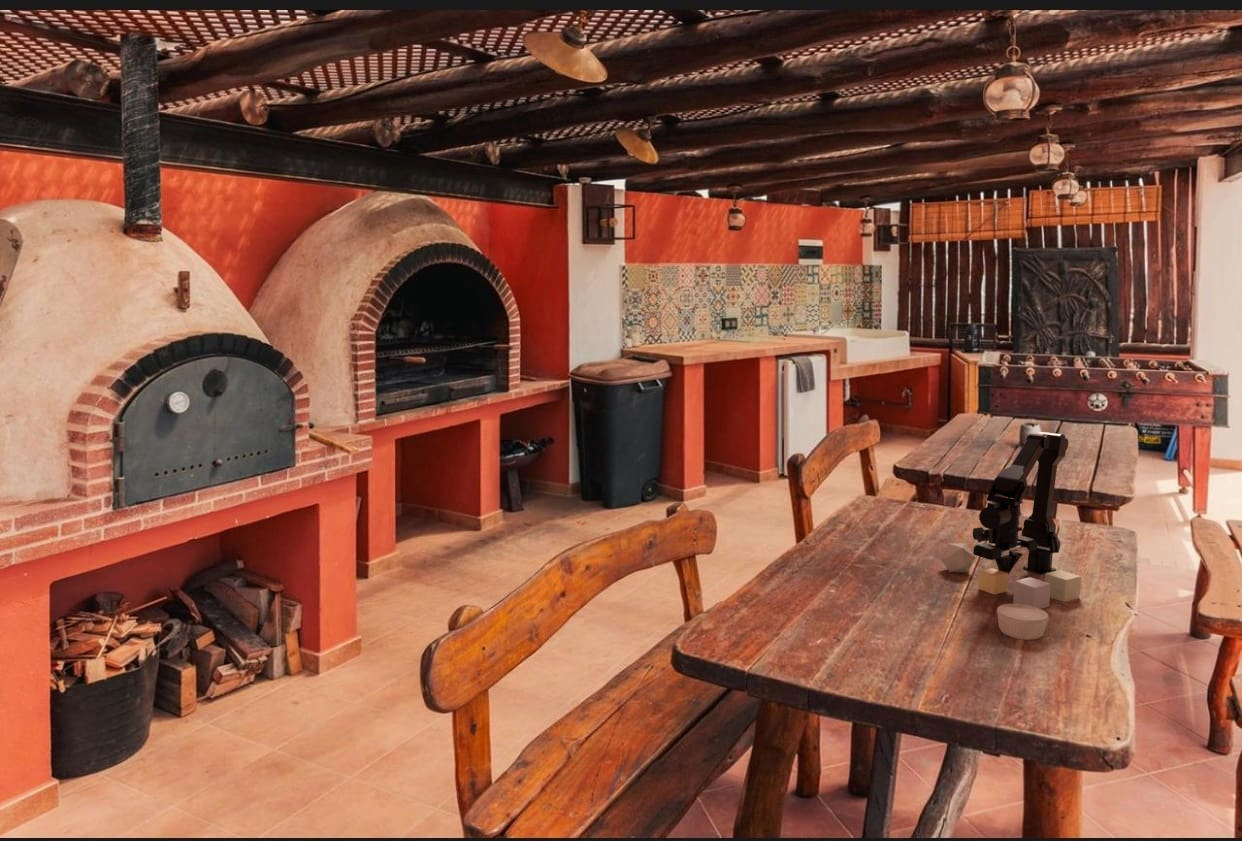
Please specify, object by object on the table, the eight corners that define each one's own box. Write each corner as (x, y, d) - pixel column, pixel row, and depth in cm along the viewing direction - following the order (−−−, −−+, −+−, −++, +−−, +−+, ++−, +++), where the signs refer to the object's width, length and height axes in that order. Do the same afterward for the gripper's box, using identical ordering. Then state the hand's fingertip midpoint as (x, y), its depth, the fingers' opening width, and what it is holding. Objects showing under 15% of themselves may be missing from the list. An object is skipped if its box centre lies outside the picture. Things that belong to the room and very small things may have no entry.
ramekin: (1033, 623, 219) (1034, 602, 219) (1056, 641, 208) (1058, 620, 208) (987, 624, 219) (988, 603, 218) (1008, 642, 208) (1010, 620, 207)
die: (969, 580, 253) (984, 550, 254) (941, 563, 253) (957, 534, 255) (958, 581, 261) (973, 552, 262) (931, 565, 261) (946, 536, 263)
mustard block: (991, 585, 246) (992, 568, 245) (1007, 591, 241) (1008, 573, 241) (978, 588, 243) (979, 571, 243) (994, 594, 239) (995, 576, 238)
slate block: (1028, 599, 236) (1030, 577, 235) (1049, 606, 231) (1050, 583, 230) (1013, 603, 233) (1014, 580, 232) (1033, 610, 228) (1035, 587, 227)
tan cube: (1058, 591, 242) (1060, 569, 241) (1079, 598, 236) (1080, 576, 235) (1043, 595, 239) (1045, 573, 238) (1064, 602, 233) (1066, 580, 233)
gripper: (1005, 510, 253) (1001, 564, 255) (958, 519, 244) (955, 575, 246) (1040, 520, 243) (1036, 576, 246) (993, 529, 234) (989, 587, 237)
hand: (1003, 578), depth 244 cm, fingers closed
